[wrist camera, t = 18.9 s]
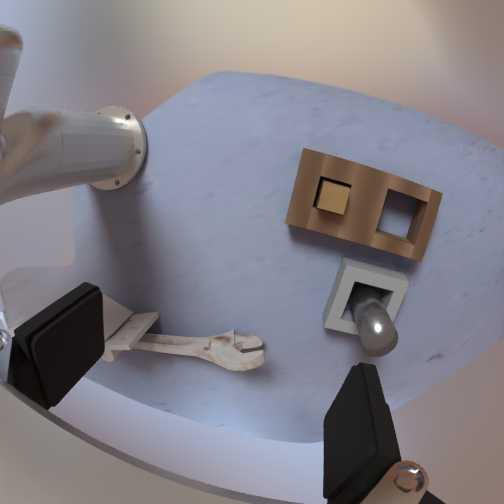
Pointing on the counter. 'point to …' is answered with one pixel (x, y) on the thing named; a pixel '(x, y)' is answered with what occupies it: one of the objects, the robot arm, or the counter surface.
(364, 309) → the grey metal rounded cylinder
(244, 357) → the wrench
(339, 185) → the tan square peg
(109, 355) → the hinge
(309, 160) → the socket block
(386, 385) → the counter surface
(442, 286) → the counter surface
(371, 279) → the holder
